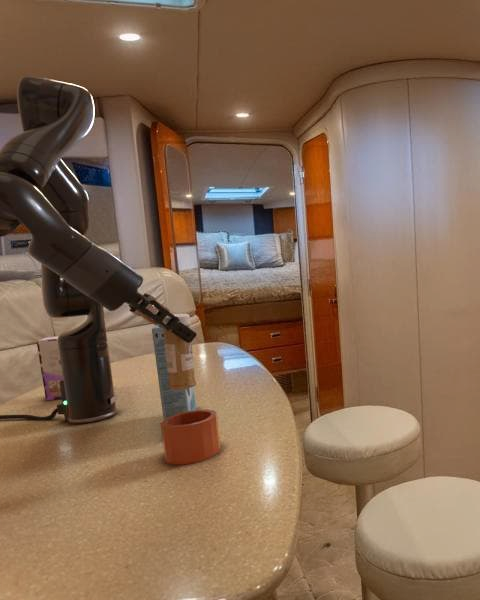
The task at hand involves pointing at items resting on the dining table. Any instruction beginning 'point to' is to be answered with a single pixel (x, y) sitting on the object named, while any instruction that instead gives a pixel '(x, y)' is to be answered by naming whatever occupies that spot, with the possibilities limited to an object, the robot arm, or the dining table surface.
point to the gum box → (170, 398)
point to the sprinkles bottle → (179, 357)
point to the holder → (190, 436)
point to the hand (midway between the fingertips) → (188, 336)
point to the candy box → (50, 366)
